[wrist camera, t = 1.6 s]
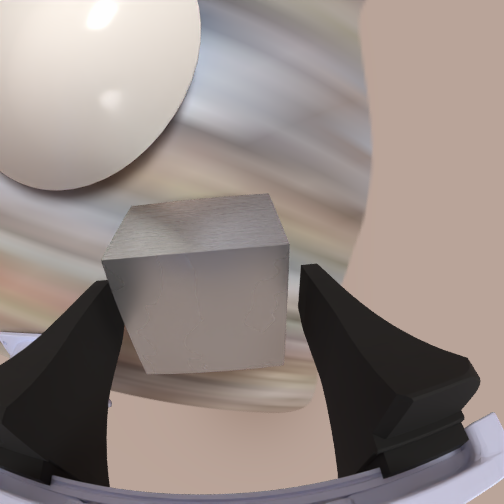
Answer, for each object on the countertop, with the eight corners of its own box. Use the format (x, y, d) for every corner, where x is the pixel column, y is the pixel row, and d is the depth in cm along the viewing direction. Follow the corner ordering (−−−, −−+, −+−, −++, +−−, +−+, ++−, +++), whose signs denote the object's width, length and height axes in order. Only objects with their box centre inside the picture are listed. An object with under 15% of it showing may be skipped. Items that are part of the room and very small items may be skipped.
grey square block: (269, 301, 15) (283, 365, 12) (157, 309, 15) (146, 374, 11) (268, 193, 12) (289, 244, 9) (131, 206, 12) (101, 260, 8)
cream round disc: (210, 164, 14) (210, 170, 13) (-5, 201, 13) (-14, 208, 12) (199, -83, 7) (198, -92, 6) (-26, -1, 6) (-36, -2, 5)
